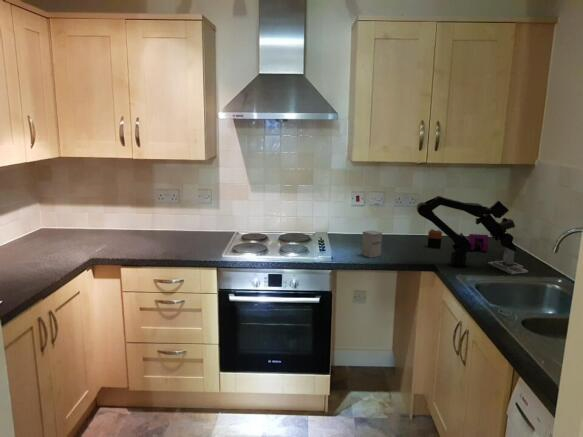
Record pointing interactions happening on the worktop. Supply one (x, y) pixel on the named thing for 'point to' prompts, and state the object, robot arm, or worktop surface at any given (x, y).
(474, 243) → the mounting bracket
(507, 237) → the robot arm
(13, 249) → the worktop surface
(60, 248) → the worktop surface
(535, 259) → the worktop surface
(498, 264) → the grey tray
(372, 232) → the pinkish brown cylinder
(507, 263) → the grey rectangular block
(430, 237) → the battery
